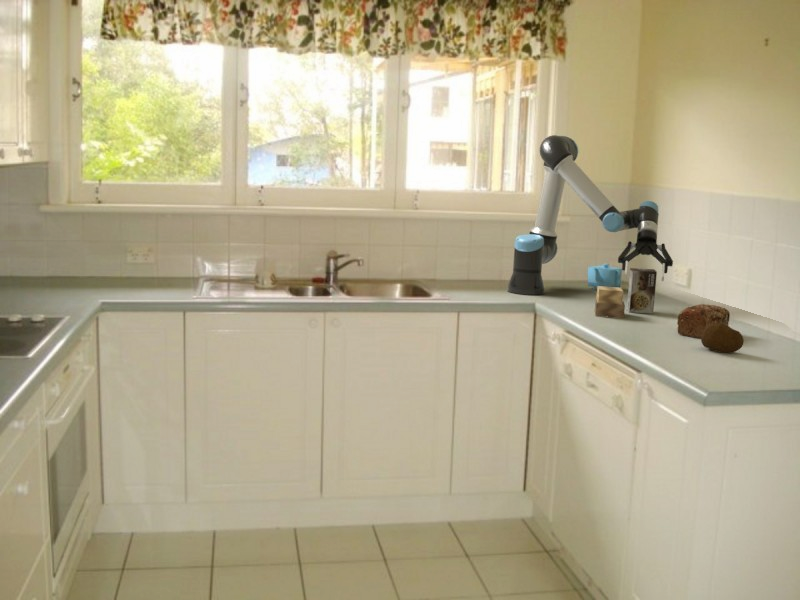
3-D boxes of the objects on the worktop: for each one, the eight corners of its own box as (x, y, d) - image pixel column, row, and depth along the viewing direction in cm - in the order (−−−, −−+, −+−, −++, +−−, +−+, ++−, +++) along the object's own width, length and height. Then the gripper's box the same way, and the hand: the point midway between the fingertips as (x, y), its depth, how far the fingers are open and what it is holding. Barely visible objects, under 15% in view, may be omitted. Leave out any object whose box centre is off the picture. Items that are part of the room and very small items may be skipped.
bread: (704, 340, 287) (708, 310, 286) (674, 334, 295) (677, 305, 293) (729, 333, 301) (732, 304, 299) (699, 328, 308) (702, 300, 306)
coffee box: (650, 311, 337) (654, 269, 334) (653, 314, 331) (657, 271, 328) (626, 309, 338) (629, 267, 335) (628, 312, 332) (632, 269, 329)
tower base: (595, 316, 321) (596, 303, 320) (594, 312, 331) (595, 298, 330) (623, 319, 319) (624, 305, 318) (622, 314, 329) (623, 301, 328)
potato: (731, 357, 264) (735, 328, 262) (693, 349, 272) (696, 321, 270) (743, 353, 270) (747, 325, 268) (706, 346, 278) (709, 318, 276)
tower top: (598, 303, 321) (599, 289, 320) (596, 299, 329) (597, 286, 328) (622, 304, 320) (623, 291, 319) (619, 301, 328) (620, 287, 327)
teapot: (629, 290, 387) (631, 264, 385) (608, 294, 374) (610, 267, 372) (597, 285, 398) (599, 260, 396) (575, 288, 385) (577, 262, 383)
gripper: (614, 226, 348) (610, 269, 336) (681, 230, 342) (679, 273, 330) (614, 239, 354) (609, 281, 342) (679, 243, 348) (677, 286, 336)
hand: (644, 277), depth 336 cm, fingers open, 13 cm apart
